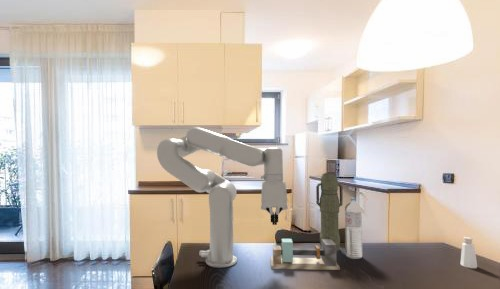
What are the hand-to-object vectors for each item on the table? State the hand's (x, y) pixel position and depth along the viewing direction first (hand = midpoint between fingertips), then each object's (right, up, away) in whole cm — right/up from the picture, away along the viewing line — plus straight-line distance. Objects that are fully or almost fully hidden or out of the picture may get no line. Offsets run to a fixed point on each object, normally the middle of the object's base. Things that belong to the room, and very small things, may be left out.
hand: (274, 224), depth 109 cm
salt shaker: (+76, -16, -2) cm, 78 cm away
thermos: (+27, -17, +17) cm, 36 cm away
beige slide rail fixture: (+11, -16, -1) cm, 20 cm away
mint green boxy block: (+5, -14, -1) cm, 15 cm away
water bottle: (+35, -16, +8) cm, 39 cm away
